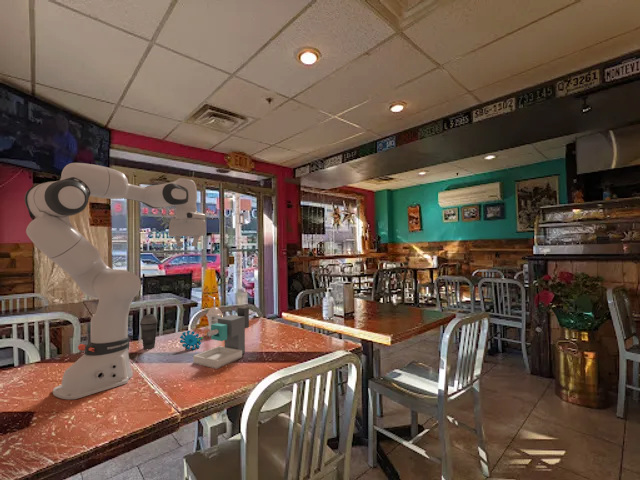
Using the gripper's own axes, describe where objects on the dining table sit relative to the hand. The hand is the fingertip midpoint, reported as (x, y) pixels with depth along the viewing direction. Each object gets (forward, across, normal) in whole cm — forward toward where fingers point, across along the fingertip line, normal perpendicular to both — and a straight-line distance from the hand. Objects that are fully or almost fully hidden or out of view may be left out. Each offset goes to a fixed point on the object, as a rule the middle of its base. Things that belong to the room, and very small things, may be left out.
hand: (186, 246), depth 140 cm
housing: (+47, +20, +6) cm, 51 cm away
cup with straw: (+47, -13, +28) cm, 57 cm away
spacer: (+38, +20, 0) cm, 43 cm away
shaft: (+37, +20, +5) cm, 42 cm away
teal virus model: (+47, -3, +5) cm, 48 cm away
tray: (+47, +20, -1) cm, 51 cm away
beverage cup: (+47, -21, -4) cm, 52 cm away
